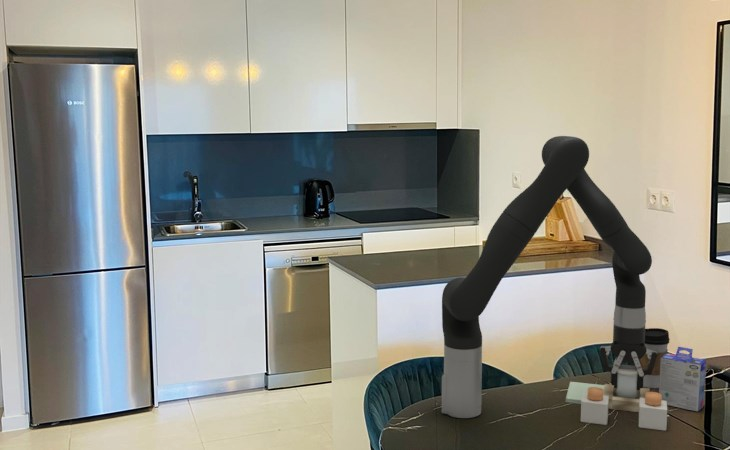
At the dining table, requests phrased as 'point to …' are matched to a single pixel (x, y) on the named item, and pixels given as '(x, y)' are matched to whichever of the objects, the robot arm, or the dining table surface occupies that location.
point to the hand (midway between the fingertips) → (626, 387)
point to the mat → (579, 391)
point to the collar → (623, 399)
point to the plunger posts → (647, 413)
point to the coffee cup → (658, 342)
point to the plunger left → (595, 393)
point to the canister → (627, 381)
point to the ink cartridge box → (682, 380)
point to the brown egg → (653, 398)
